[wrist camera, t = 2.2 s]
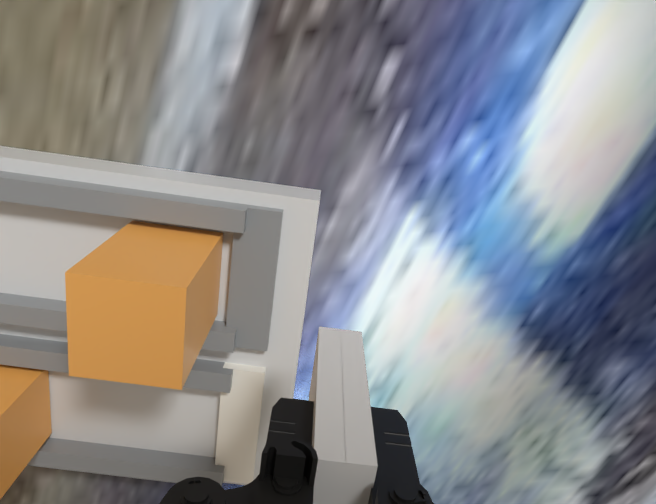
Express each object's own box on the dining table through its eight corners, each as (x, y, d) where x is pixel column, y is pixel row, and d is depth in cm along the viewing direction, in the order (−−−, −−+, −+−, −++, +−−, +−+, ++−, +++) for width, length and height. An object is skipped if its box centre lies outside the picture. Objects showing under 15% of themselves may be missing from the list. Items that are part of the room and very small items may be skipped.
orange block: (223, 232, 23) (186, 288, 17) (217, 313, 24) (181, 389, 19) (132, 220, 23) (64, 272, 17) (131, 302, 24) (68, 375, 18)
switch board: (320, 190, 24) (319, 206, 22) (284, 462, 30) (278, 504, 27) (-161, 123, 24) (-228, 131, 21) (-109, 415, 29) (-157, 452, 26)
